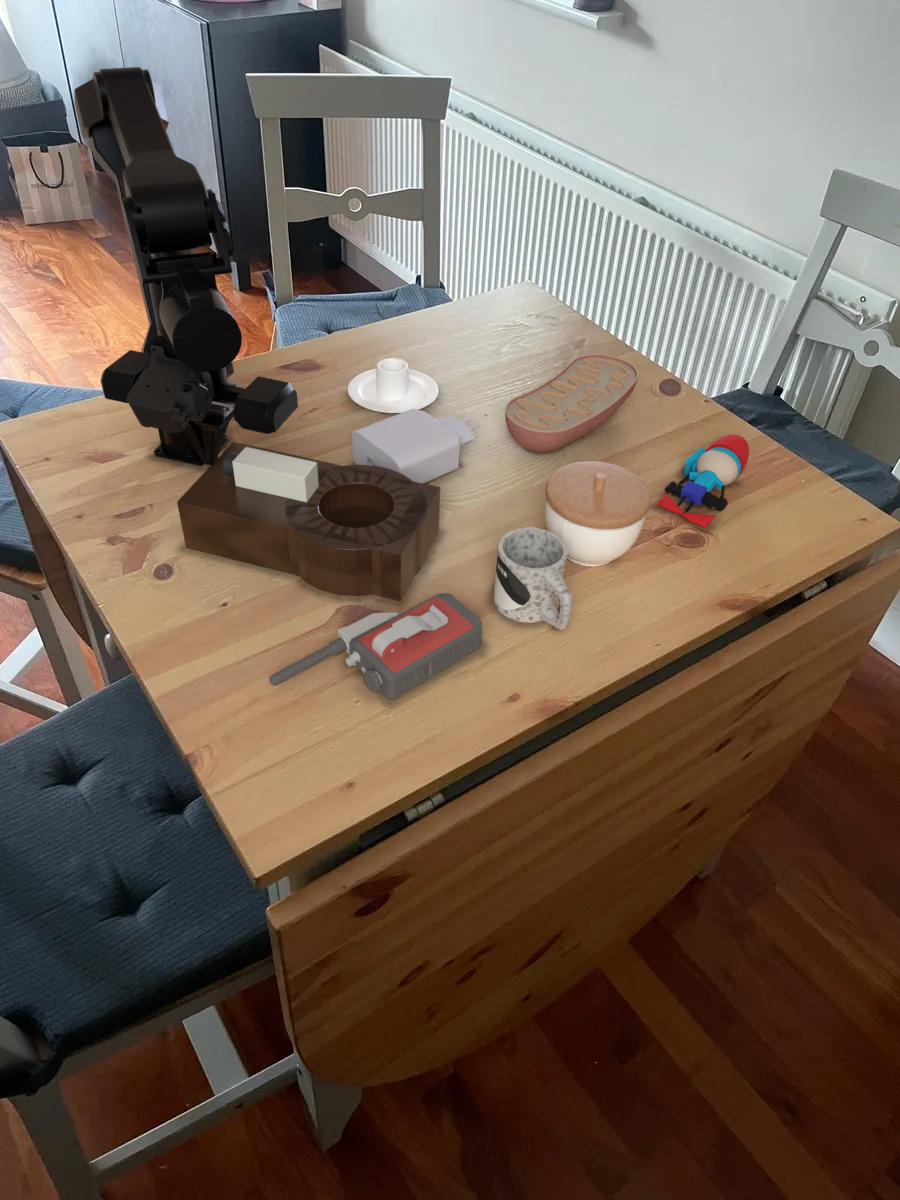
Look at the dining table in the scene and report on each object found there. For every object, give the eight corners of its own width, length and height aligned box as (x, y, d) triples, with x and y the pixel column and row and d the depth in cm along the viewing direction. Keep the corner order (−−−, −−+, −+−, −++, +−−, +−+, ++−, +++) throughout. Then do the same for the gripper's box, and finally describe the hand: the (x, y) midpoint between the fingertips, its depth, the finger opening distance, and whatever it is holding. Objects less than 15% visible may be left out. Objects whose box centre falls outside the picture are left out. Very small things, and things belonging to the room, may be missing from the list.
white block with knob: (223, 483, 95) (219, 458, 93) (237, 468, 97) (233, 443, 95) (306, 502, 93) (304, 478, 91) (318, 486, 95) (317, 462, 93)
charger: (497, 455, 111) (399, 498, 104) (449, 423, 116) (352, 462, 109) (500, 421, 108) (399, 463, 101) (450, 390, 113) (350, 427, 106)
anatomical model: (586, 380, 126) (591, 346, 123) (649, 405, 122) (656, 371, 118) (487, 448, 112) (490, 412, 109) (554, 479, 108) (559, 442, 105)
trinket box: (657, 550, 99) (675, 478, 92) (596, 595, 93) (611, 522, 87) (580, 506, 104) (591, 435, 98) (518, 546, 98) (526, 474, 92)
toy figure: (709, 541, 103) (766, 465, 110) (713, 508, 99) (771, 432, 106) (649, 519, 106) (707, 447, 114) (650, 487, 103) (710, 414, 110)
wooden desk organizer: (179, 554, 95) (170, 508, 91) (244, 480, 105) (238, 435, 101) (398, 610, 90) (398, 563, 86) (443, 526, 100) (446, 481, 96)
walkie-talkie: (436, 594, 92) (265, 685, 82) (438, 560, 89) (260, 650, 79) (495, 643, 87) (320, 745, 77) (498, 609, 84) (317, 711, 74)
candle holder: (386, 363, 127) (386, 334, 124) (456, 391, 122) (457, 361, 120) (329, 397, 120) (327, 367, 117) (401, 428, 115) (401, 397, 112)
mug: (481, 590, 93) (485, 538, 88) (535, 571, 95) (542, 520, 91) (535, 652, 86) (542, 601, 82) (592, 630, 89) (602, 579, 85)
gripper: (47, 341, 81) (87, 486, 91) (236, 380, 77) (256, 527, 88) (119, 292, 89) (148, 431, 99) (294, 325, 85) (305, 466, 96)
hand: (211, 463), depth 95 cm, fingers closed
